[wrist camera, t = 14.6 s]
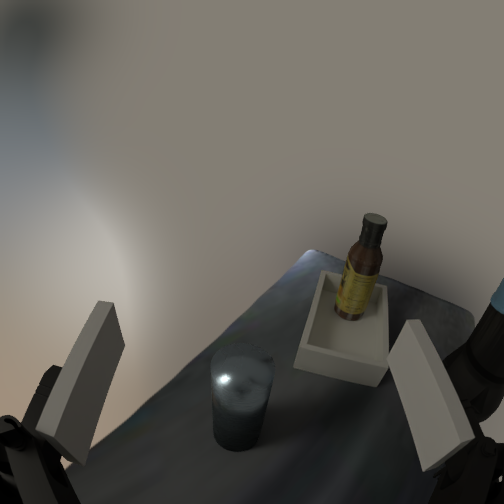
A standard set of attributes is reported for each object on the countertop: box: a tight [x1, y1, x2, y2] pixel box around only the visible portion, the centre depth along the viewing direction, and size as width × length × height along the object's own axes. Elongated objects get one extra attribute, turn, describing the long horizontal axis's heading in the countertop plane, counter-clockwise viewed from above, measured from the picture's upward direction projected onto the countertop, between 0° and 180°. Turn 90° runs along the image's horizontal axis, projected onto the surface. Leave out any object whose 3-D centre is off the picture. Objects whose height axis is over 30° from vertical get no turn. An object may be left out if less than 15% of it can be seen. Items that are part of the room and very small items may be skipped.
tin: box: [211, 343, 275, 452], centre depth 31 cm, size 6×6×15 cm
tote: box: [293, 270, 389, 387], centre depth 51 cm, size 22×14×5 cm, turn 161°
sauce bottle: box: [334, 213, 387, 321], centre depth 51 cm, size 6×6×20 cm
